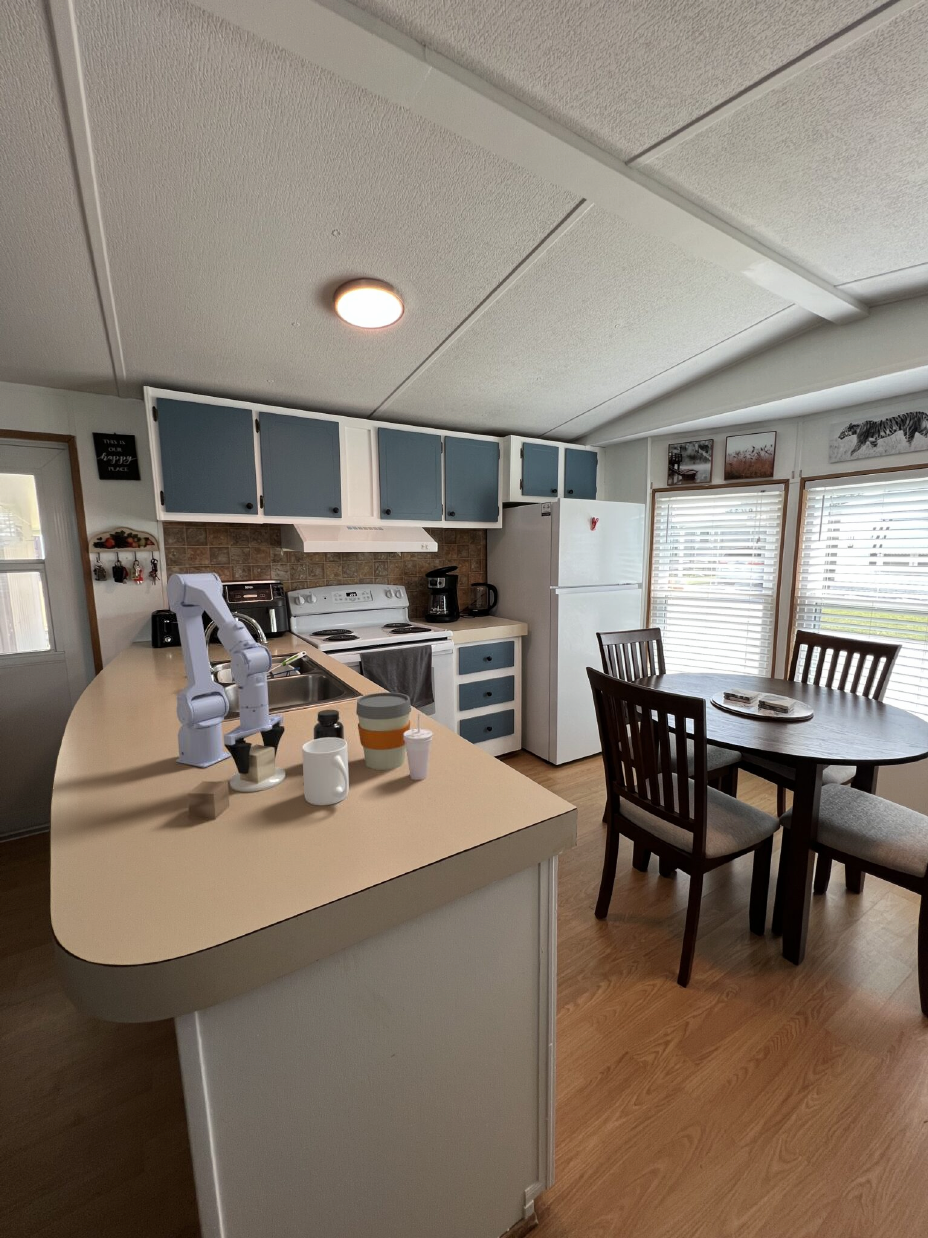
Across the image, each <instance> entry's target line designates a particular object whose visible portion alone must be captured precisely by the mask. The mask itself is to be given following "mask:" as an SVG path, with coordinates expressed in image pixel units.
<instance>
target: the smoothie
mask: <svg viewBox="0 0 928 1238" xmlns="http://www.w3.org/2000/svg"><path fill="white" fill-rule="evenodd" d="M403 736H404V737H403V739H404V740H405V744H406V754H407V755H406V757H407V762H408V763H407V764H408V770H409V776H410V779H412V780H415V781H420V780H422V781H423V780H424V779H427V778H428V773H429V765H430V764H429V763H430V755H431V747H432V739H433V738H434V736H433V731H431V730H430V729H426V728H421V713H420V712H417V728H414V729H410V730H408V731H406V732H405V733H404V734H403Z"/></svg>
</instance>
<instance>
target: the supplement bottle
mask: <svg viewBox="0 0 928 1238" xmlns="http://www.w3.org/2000/svg"><path fill="white" fill-rule="evenodd" d="M316 720H317V723H316V724H315V725H314V726H313V740H315V739H320V738H330V737H331V738H341V739H344V740H345V729H344V728H345V727H344V725H343V723H342V722H341V721H340V711H338V710H336V709H324V710H319V711H318V712H317V719H316Z"/></svg>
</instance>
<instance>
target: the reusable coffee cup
mask: <svg viewBox="0 0 928 1238" xmlns="http://www.w3.org/2000/svg"><path fill="white" fill-rule="evenodd" d="M411 712H412V706H411V699H410V696H409V695H407V694H404V693H399V692H375V693H370V694H366V695H365V694H364V695H362V696H361V697H359V698H357V700H356V716H357V718H358V723H357V730H358V736H359V740H360V741H359V742H360V745H361V746H362V747H363V753H364V754H363V755H364V762H365V765H366V767H368V768H369V769H373V770H379V771H381V770H383V771H385V770H393V769H396V768H399V767H401V766H402V765H404V764H405V761H406V759H405V758H406V753H407V751H406V744H405V740H404V739H403V737H404V736H403V734H404V733H405V732H406V731H408V730H411V729H410V728H411V720H410V713H411Z"/></svg>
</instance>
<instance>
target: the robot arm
mask: <svg viewBox="0 0 928 1238" xmlns="http://www.w3.org/2000/svg"><path fill="white" fill-rule="evenodd" d="M165 588H166V593H167V600H168V605H169V610H170V611H171V612H173V613H175V615H176V620H177V624H178V625H177V626H178V632H179V639H180V645H181V651H182V657H183V663H184V668H185V674H186V680H187V684H186V685H185V686H184V687H183V688H182V690H180V691H179V693H178V694H177V695H176V702H177V703H176V716H177V719H178V721H179V723H180V724H181V726H180V727H179V729H178V733H177V744H178V757H179V758H177V759H176V760H175V761H176V762H177V763H180V764H185V765H188V766H190V765H191V766H193V767H194V766H195V767H199V768H207V767H210V766H211V765H214V764H216V763H218V762H221V761H223V760H226V759H228V758H230V757H232V760H233V762H234V763H235V766H236V769H237V772H238V773H241V774H247V773H248V771H249V753H250V748H251V747H252V745H253V743H251V742H247V741H246V740H245V739H246V738H249V737H251V736H253V735H255V734H259V733H260V735H261V739H262V743H263V746H268V747H274V751H275V758H276V756H277V752H278V747H279V744H280V741H281V739H282V736H283V734H284V733H285V730H286V729H285V726H283V725H284V715H283V714H274V715H270V712H269V711H270V710H269V695H268V693H269V691H268V690H269V689H268V676H267V675H268V673H269V672H270V671H271V669H272V666H273V657H272V653H271V652H270V650H269V648H268V647H267V646H265V645H262V644H261V643H259V642H256V640H255V639H254V637H253V636H252V635H251V633H250V631H249V630H248V629H247V626H246V625H245V624H244V623H243V622H242V621H240V620H235V618H234V616H233V614H232V613H231V611H230V609H229V607H228V605H227V602H226V601H225V599H224V597H223V591H224V590H223V589H224V587H223V583H222V581H221V578H220V577H219V575H218V574H217V573H215V572H209V573H179V574H178V573H173V574H171V575H170V576H169V578H168V581H167V583H166V587H165ZM204 611H205V612H206V614H207V615H208V616H209V618H211V620H212V621H213V622H214V624H215V625H216V627H217V628H218V631H217V637H218V639H219V641H220V642H221V644H222V645H223V647H224V649H225V651H226V652H227V654H228V655H229V657H230V658H231V659H230V662H229V665H230V669H231V672H232V674H233V677H234V683H235V685H236V686H237V691H238V693H237V695H238V710H239V725H238V726H237V727H235V728H234V729H232V730H230V731H229V732H227V733H225V734H223V726H222V722H224V721H225V717H226V716H227V715H228V713H229V709H230V703H229V699H228V697H227V695H226V693H225V690H224V686H222V685H221V684H219V683H218V682H215V680H212V673H211V666H210V659H209V655H208V654H209V653H208V648H207V643H206V637H205V630H204V624H203V618H202V616H203V613H204ZM223 744H224V745H223ZM224 747H225V748H226V750H227V751H228V752H225V751H224Z"/></svg>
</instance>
